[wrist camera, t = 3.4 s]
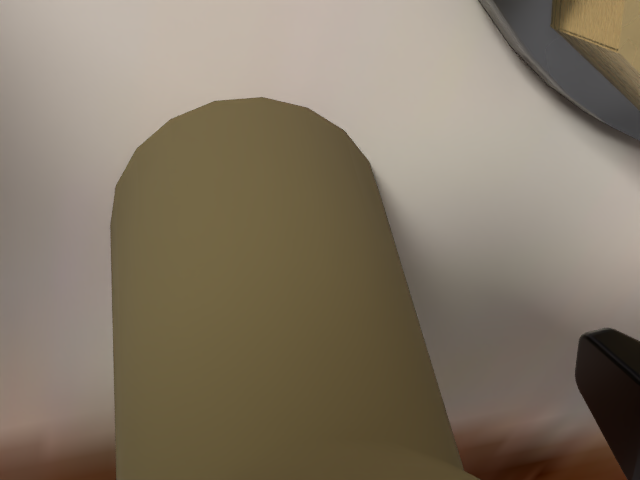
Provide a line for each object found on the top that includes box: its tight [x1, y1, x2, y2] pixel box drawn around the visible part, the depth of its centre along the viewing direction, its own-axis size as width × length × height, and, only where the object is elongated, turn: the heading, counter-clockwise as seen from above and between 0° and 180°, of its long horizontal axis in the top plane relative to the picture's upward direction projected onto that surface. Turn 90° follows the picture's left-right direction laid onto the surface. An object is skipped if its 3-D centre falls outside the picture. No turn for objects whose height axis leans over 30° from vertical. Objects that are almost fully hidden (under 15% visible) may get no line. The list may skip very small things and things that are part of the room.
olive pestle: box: [110, 97, 481, 480], centre depth 8 cm, size 6×6×11 cm
